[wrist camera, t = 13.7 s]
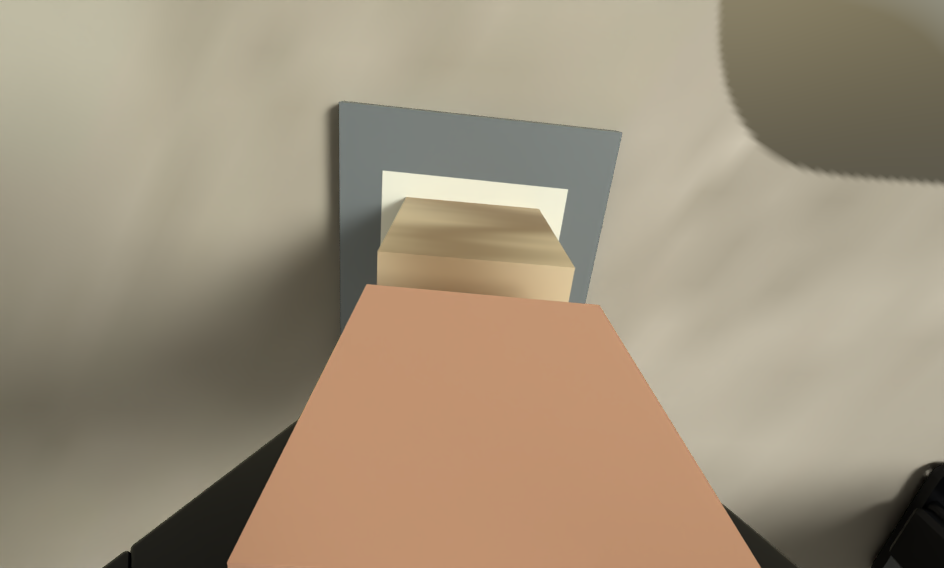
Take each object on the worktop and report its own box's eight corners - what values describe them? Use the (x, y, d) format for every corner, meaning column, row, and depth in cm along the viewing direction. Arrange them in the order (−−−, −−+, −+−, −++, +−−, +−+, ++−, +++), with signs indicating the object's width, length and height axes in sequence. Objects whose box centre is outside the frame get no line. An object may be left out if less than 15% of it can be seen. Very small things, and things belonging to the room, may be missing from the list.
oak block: (539, 208, 14) (574, 267, 9) (521, 325, 16) (545, 425, 11) (406, 196, 14) (377, 251, 9) (401, 316, 15) (374, 413, 11)
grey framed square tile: (616, 130, 14) (622, 132, 13) (562, 383, 17) (565, 393, 17) (344, 101, 13) (338, 101, 13) (344, 366, 17) (340, 376, 16)
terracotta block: (599, 304, 8) (777, 595, 3) (558, 479, 10) (644, 840, 5) (366, 284, 8) (227, 561, 3) (363, 466, 9) (266, 828, 5)
